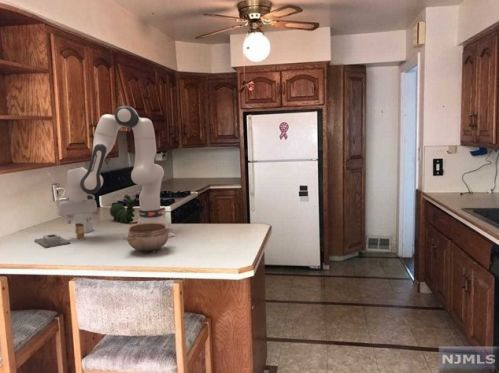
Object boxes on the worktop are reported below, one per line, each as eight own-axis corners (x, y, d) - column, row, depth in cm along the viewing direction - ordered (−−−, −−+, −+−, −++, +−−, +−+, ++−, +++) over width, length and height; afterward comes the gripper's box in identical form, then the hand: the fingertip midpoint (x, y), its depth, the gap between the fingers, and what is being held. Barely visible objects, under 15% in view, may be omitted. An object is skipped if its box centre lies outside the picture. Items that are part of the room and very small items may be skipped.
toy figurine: (138, 225, 272) (118, 217, 290) (138, 195, 269) (117, 189, 286) (125, 227, 265) (105, 219, 283) (124, 197, 262) (104, 190, 279)
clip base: (70, 243, 221) (69, 237, 221) (45, 248, 213) (45, 241, 213) (58, 237, 236) (57, 231, 236) (34, 241, 228) (34, 235, 228)
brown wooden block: (84, 238, 231) (83, 224, 230) (79, 239, 230) (78, 225, 229) (81, 237, 235) (80, 223, 234) (76, 238, 233) (75, 223, 232)
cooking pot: (135, 260, 188) (133, 233, 186) (114, 252, 201) (113, 227, 200) (182, 249, 205) (180, 224, 203) (160, 242, 218) (159, 219, 217)
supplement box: (86, 233, 245) (85, 211, 244) (75, 232, 247) (73, 211, 245) (93, 230, 252) (92, 209, 251) (82, 230, 254) (80, 209, 252)
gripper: (58, 199, 220) (59, 225, 222) (97, 195, 234) (98, 220, 235) (54, 198, 225) (56, 224, 227) (93, 194, 238) (94, 218, 240)
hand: (78, 222), depth 231 cm, fingers open, 8 cm apart
